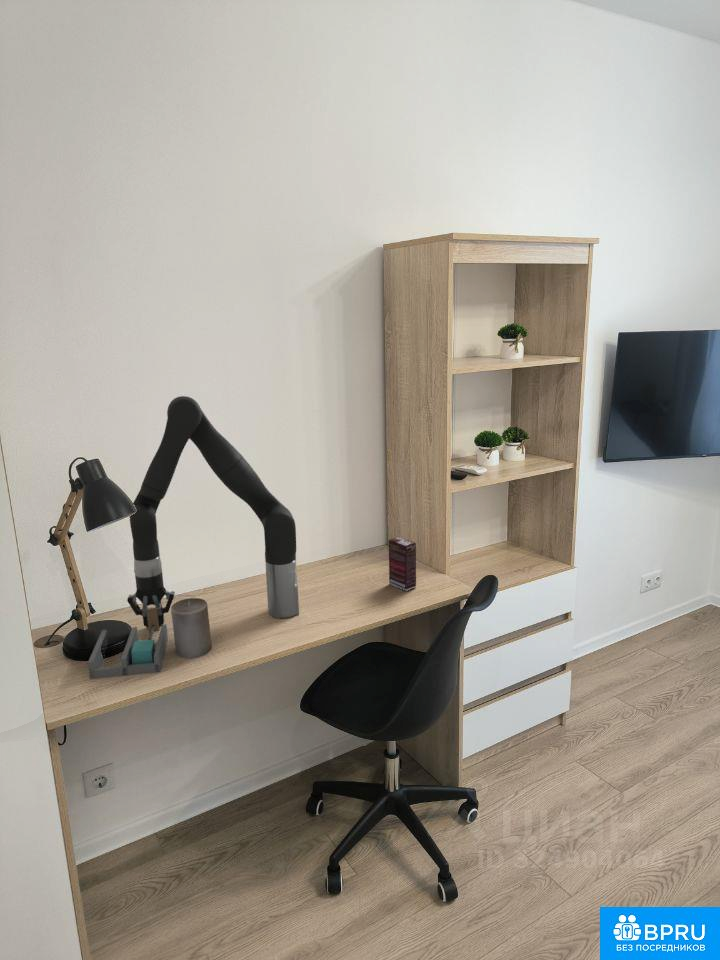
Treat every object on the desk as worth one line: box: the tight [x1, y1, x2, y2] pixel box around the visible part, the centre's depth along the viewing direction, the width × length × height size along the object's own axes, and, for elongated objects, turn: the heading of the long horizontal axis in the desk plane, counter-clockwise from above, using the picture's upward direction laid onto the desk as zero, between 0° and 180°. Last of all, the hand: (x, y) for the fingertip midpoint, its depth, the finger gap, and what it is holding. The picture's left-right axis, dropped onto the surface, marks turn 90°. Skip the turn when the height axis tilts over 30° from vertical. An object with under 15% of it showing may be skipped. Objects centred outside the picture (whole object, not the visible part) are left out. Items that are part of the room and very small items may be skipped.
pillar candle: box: [170, 597, 213, 659], centre depth 189 cm, size 10×10×15 cm
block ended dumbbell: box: [131, 606, 161, 665], centre depth 193 cm, size 5×24×6 cm, turn 9°
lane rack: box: [87, 623, 169, 680], centre depth 187 cm, size 17×18×5 cm
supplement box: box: [388, 536, 417, 592], centre depth 229 cm, size 9×5×16 cm, turn 40°
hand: (154, 625), depth 204 cm, fingers closed on block ended dumbbell, 3 cm apart
